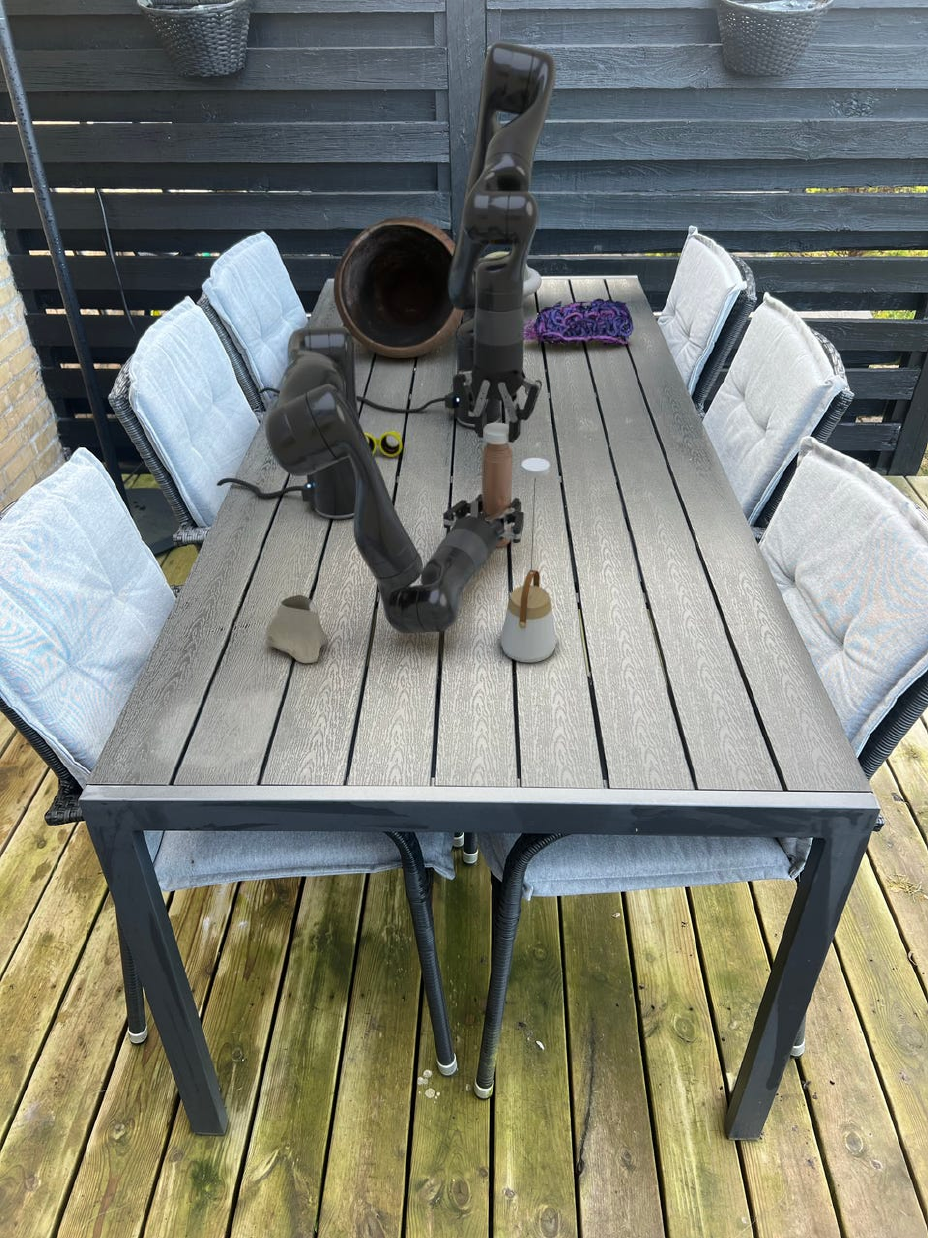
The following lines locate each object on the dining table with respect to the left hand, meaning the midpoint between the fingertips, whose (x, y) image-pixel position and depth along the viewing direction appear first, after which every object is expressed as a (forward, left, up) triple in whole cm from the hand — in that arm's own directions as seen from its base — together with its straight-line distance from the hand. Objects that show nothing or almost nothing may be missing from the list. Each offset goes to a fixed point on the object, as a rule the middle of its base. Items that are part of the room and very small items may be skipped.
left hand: (501, 499), depth 159 cm
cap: (0, -3, +14) cm, 14 cm away
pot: (-53, +76, -7) cm, 93 cm away
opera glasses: (-33, +19, -7) cm, 39 cm away
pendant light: (+15, -28, -7) cm, 33 cm away
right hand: (0, -3, +13) cm, 13 cm away
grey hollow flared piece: (-17, -42, -7) cm, 46 cm away
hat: (-40, +106, -7) cm, 113 cm away
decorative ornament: (-14, +87, -7) cm, 89 cm away
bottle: (0, -3, -7) cm, 7 cm away
